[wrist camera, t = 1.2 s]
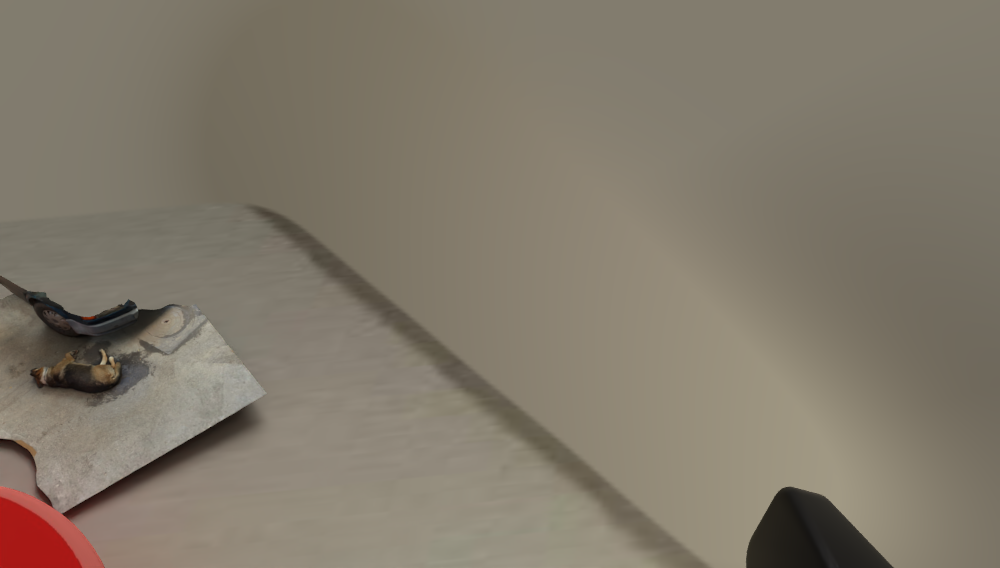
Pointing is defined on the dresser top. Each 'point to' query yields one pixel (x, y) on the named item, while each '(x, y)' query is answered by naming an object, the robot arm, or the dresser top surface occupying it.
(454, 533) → the dresser top surface
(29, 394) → the diorama
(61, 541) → the decorative ornament
